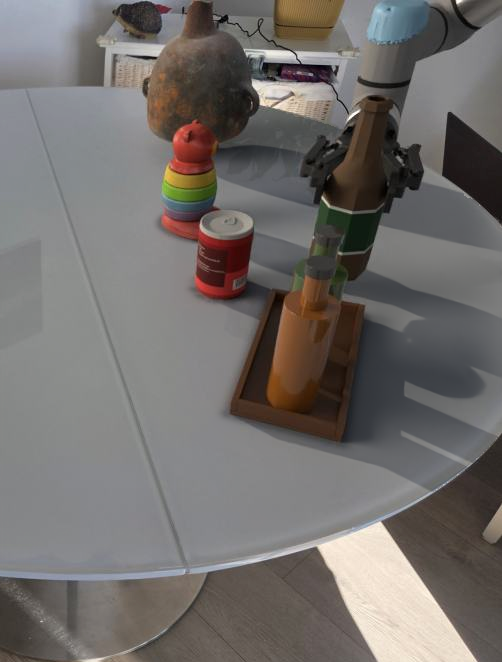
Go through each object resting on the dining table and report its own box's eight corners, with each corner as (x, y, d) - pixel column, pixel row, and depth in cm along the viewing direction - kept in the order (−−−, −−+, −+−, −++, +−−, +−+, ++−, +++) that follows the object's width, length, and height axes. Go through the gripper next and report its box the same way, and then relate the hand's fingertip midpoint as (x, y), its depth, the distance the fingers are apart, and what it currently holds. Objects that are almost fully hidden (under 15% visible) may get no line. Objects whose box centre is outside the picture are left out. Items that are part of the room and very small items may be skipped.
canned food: (245, 273, 101) (254, 210, 94) (246, 302, 95) (255, 237, 88) (195, 270, 102) (200, 208, 95) (193, 298, 96) (198, 234, 89)
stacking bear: (204, 242, 109) (214, 141, 98) (150, 231, 113) (153, 132, 102) (226, 215, 116) (237, 117, 105) (174, 205, 120) (179, 110, 109)
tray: (361, 316, 90) (365, 304, 89) (340, 442, 72) (344, 429, 71) (269, 299, 95) (271, 287, 93) (229, 413, 77) (230, 401, 76)
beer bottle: (334, 289, 87) (378, 114, 72) (295, 263, 93) (328, 96, 78) (378, 273, 89) (429, 100, 74) (337, 249, 95) (377, 83, 80)
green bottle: (326, 354, 83) (361, 222, 71) (320, 382, 79) (356, 247, 67) (280, 344, 86) (306, 215, 74) (272, 371, 82) (298, 239, 70)
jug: (250, 130, 146) (270, -18, 127) (252, 169, 130) (274, 6, 111) (143, 129, 151) (147, -13, 133) (132, 167, 135) (134, 11, 116)
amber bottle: (319, 388, 79) (354, 253, 67) (312, 419, 75) (348, 282, 63) (270, 377, 81) (296, 244, 69) (261, 406, 77) (287, 272, 65)
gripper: (439, 164, 94) (435, 238, 78) (294, 150, 102) (264, 214, 86) (456, 113, 89) (455, 180, 73) (302, 102, 97) (273, 161, 81)
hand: (352, 198), depth 80 cm, fingers closed on beer bottle, 7 cm apart
